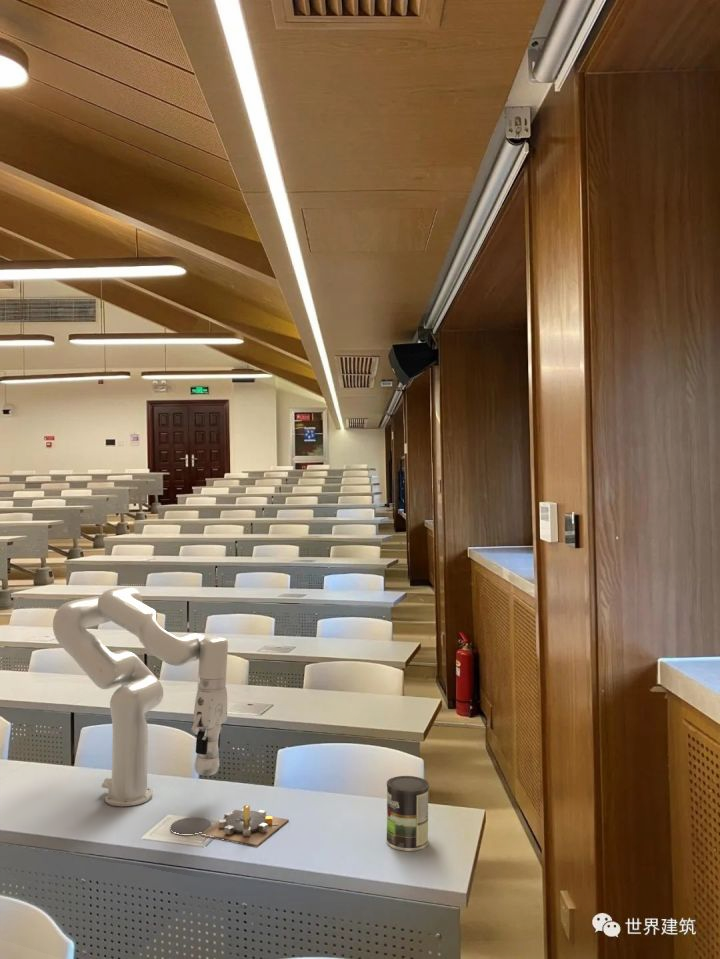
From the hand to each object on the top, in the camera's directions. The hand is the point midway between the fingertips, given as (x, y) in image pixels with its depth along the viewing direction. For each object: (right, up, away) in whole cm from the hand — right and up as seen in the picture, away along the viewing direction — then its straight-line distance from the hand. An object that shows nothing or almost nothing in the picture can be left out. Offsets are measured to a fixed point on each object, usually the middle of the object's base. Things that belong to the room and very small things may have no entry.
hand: (207, 749), depth 200 cm
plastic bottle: (0, -7, 0) cm, 7 cm away
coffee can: (+53, -15, -22) cm, 59 cm away
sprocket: (+13, -14, -14) cm, 24 cm away
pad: (-1, -14, -14) cm, 20 cm away
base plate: (+13, -14, -14) cm, 24 cm away
